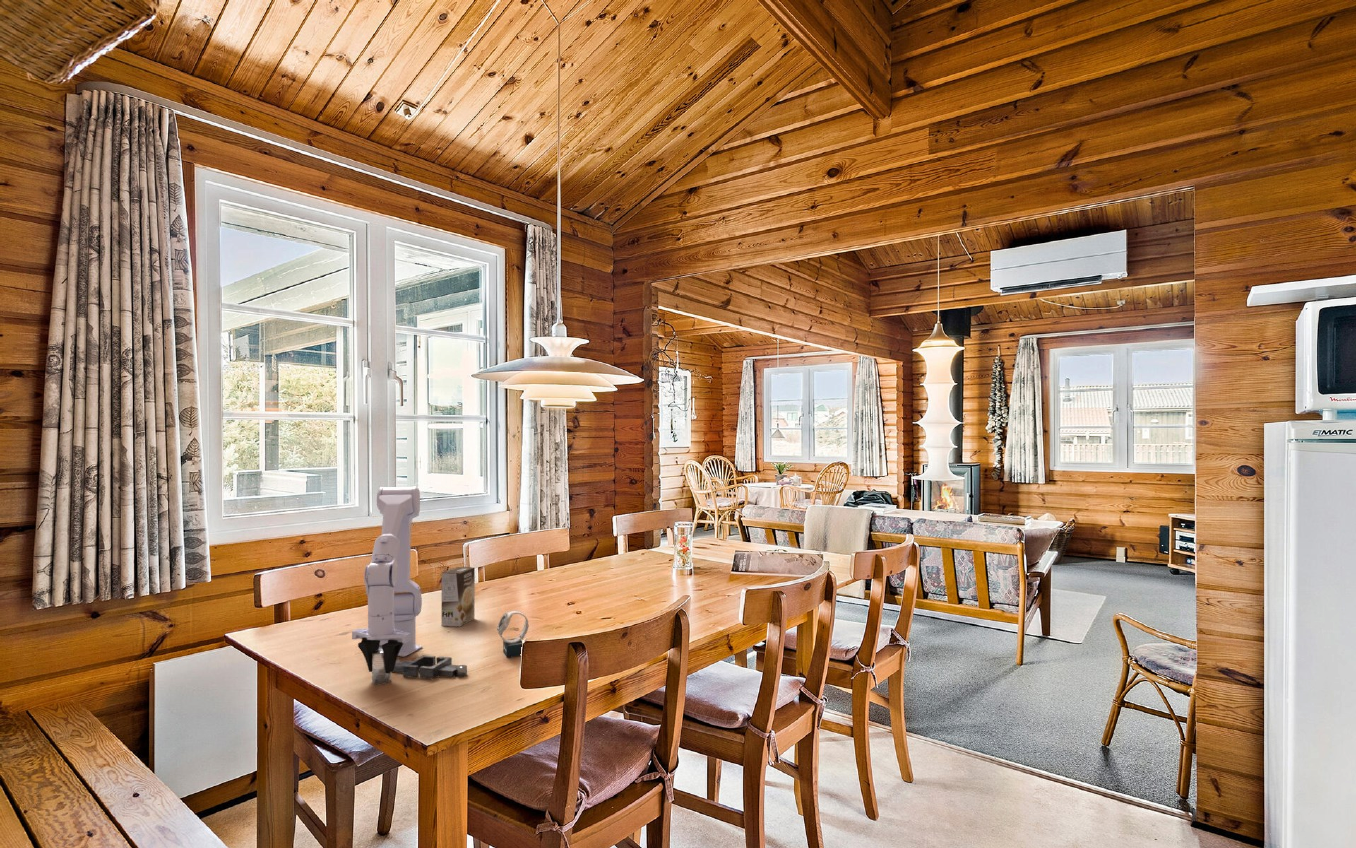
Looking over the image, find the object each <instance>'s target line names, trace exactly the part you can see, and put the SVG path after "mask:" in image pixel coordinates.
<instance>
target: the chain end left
mask: <svg viewBox="0 0 1356 848" xmlns="http://www.w3.org/2000/svg"><path fill="white" fill-rule="evenodd" d="M436 664H437V663H436V655H426V654H424V655H420V656H418V657H417V658H415V659H412V660H402V661H401V659H399V658H397V660H396V663H395V667H394V671H393V673H398V674H399V673H400V674H402V675H403V676H402V677H404V678H405V677H406V678H418V677H420V667H421V666H428V667H432V666H434V665H436Z"/></svg>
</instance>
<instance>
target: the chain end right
mask: <svg viewBox="0 0 1356 848" xmlns="http://www.w3.org/2000/svg"><path fill="white" fill-rule="evenodd" d="M452 662H453V661H452V657H450V656H437V657H436V663H435V664H436V665H434V666H432V667H428V666H421V667H420V670H419V678H420V679H428V680H435V678H437V677H442V678H454V677H455V676H456V677H457V678H462V677H463V678H464V677H466V676H467V675H468V665H466V664H460V665H459V664H452Z"/></svg>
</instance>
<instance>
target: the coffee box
mask: <svg viewBox="0 0 1356 848" xmlns="http://www.w3.org/2000/svg"><path fill="white" fill-rule="evenodd" d="M475 569H476V567H469V566H467V567H466V566H456V567H454V568H450V569H448V570H444V571H441V607H440V608H441V610H440V611H441V613H440V614H441V615H440V616H441V620H440V621H441V622H440V623H441V626H442V627H443V626H446V627H457V626H459V627H462V626H463V624H464V625H465V624H467V623H470V622H471V621H473V620H474V619H475V618H476V617H475V613H476V612H475V611H476V610H475V603H476V601H475V599H476V598H475V593H476V592H475V591H476V590H475V589H476V588H475V587H476V586H475V585H476V584H475V582H476V581H475V580H476V579H475V578H476V576H475V574H476V571H475Z"/></svg>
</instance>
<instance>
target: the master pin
mask: <svg viewBox="0 0 1356 848" xmlns="http://www.w3.org/2000/svg"><path fill="white" fill-rule="evenodd" d="M391 673H392V672H390V673H386V671H385V657H384V652H383V649H379V650H375V651H373V652H372V672H371V684H373V685H376V686H378V685H386V684H388V683H390V682H391V678H392V675H391ZM385 683H386V684H385Z"/></svg>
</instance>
